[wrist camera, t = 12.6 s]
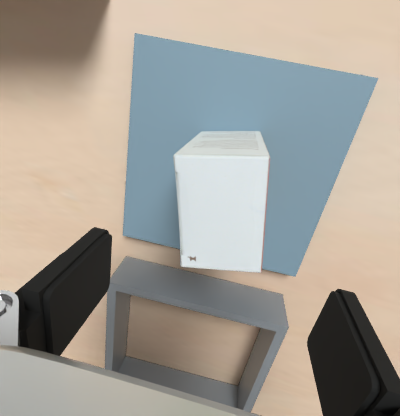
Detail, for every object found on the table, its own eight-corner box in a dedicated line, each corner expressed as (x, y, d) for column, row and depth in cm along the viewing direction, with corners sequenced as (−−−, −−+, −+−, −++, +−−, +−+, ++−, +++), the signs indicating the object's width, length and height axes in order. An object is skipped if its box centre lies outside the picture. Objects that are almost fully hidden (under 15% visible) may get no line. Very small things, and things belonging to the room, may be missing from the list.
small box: (256, 210, 27) (262, 276, 17) (201, 208, 28) (179, 270, 18) (261, 129, 24) (273, 155, 14) (200, 129, 25) (171, 154, 15)
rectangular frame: (282, 294, 32) (288, 327, 28) (242, 391, 41) (242, 429, 36) (126, 256, 34) (107, 281, 29) (119, 358, 42) (104, 390, 38)
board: (370, 79, 22) (378, 78, 21) (293, 268, 31) (295, 276, 29) (141, 36, 24) (134, 33, 22) (128, 229, 32) (122, 235, 31)
